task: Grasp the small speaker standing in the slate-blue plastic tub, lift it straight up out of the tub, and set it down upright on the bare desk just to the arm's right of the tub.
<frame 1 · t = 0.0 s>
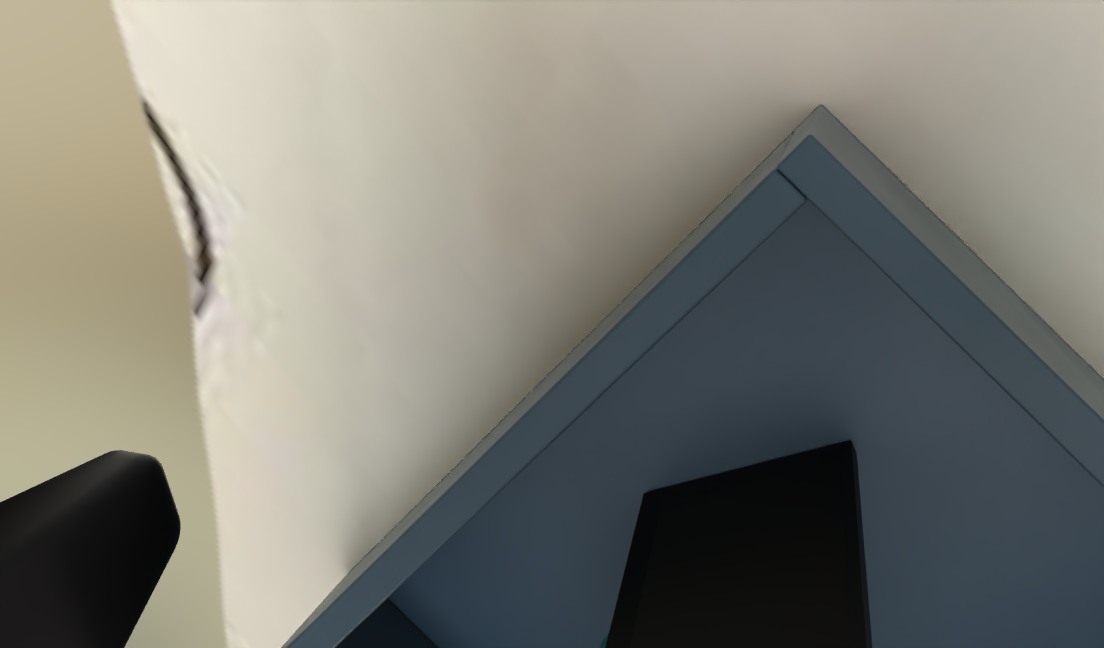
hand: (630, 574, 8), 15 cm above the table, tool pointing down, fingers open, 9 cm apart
speaker: (766, 591, 25), resting on tub
tub: (767, 589, 25), on the table
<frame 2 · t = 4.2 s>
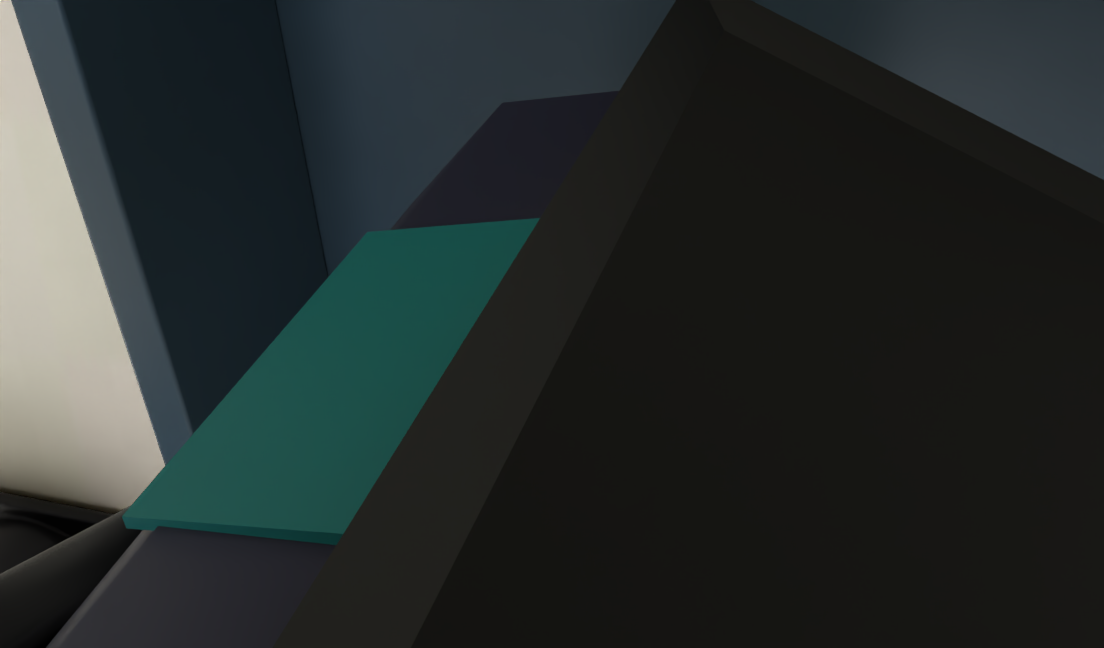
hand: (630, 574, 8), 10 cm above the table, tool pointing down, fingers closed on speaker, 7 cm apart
speaker: (713, 333, 11), point 6 cm above the table, touching gripper
tub: (762, 121, 16), on the table
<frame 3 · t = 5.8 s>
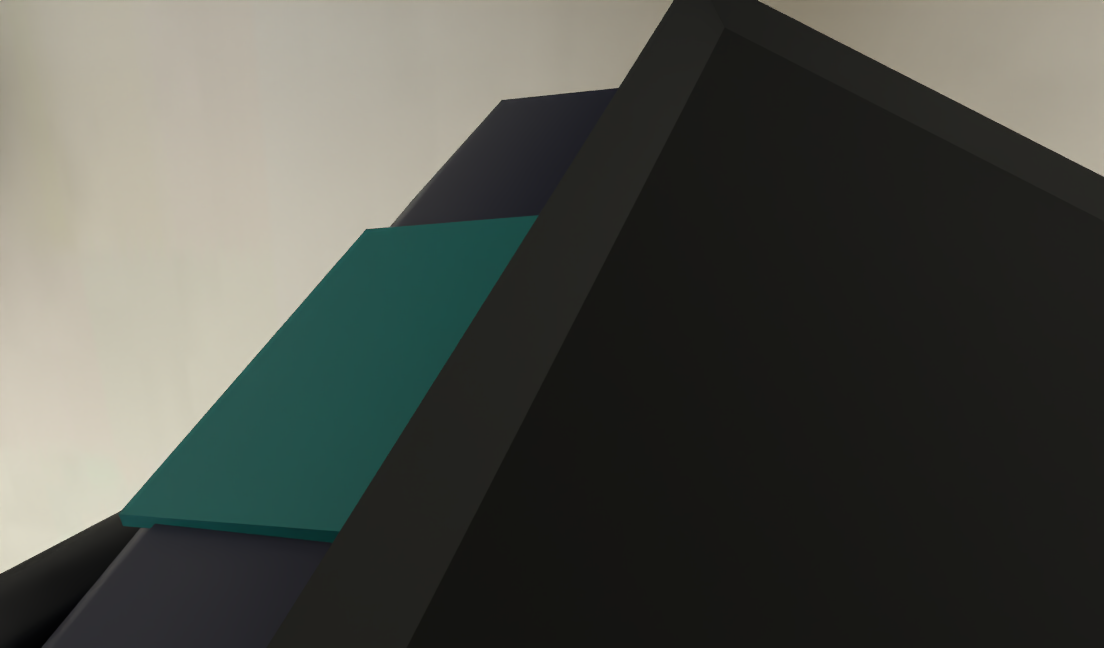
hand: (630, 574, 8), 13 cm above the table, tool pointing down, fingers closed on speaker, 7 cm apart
speaker: (713, 331, 11), point 9 cm above the table, touching gripper
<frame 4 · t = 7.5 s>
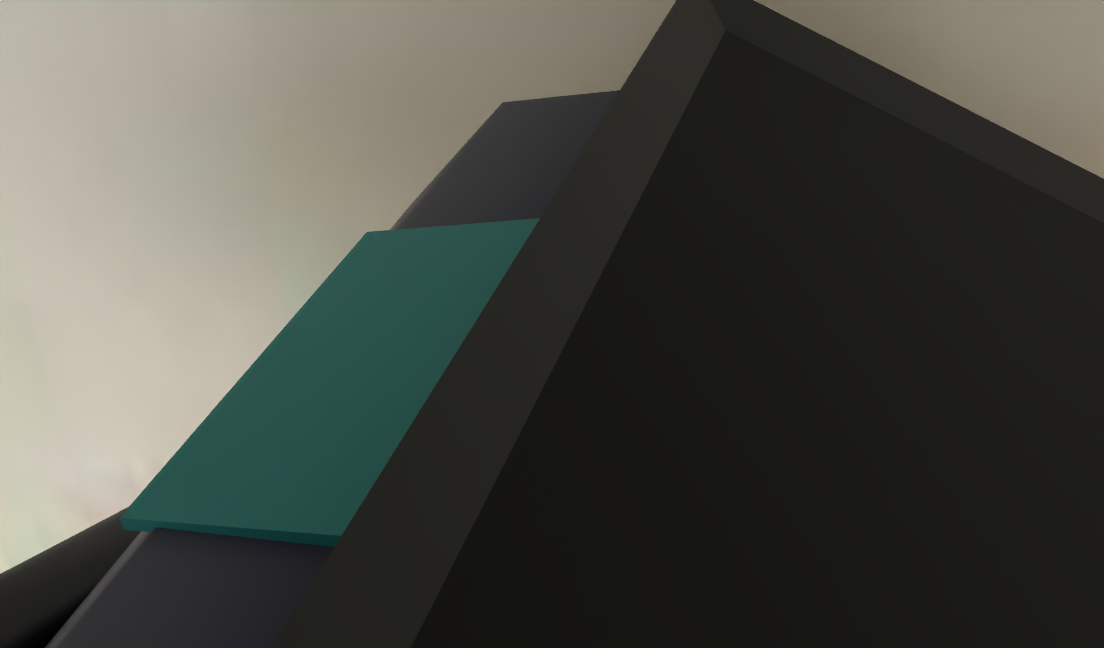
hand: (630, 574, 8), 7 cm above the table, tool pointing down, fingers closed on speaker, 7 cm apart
speaker: (714, 333, 11), point 4 cm above the table, touching gripper
when the fingers open (3 cm above the table, at t = 9.0 s): speaker stays where it is, on the table.
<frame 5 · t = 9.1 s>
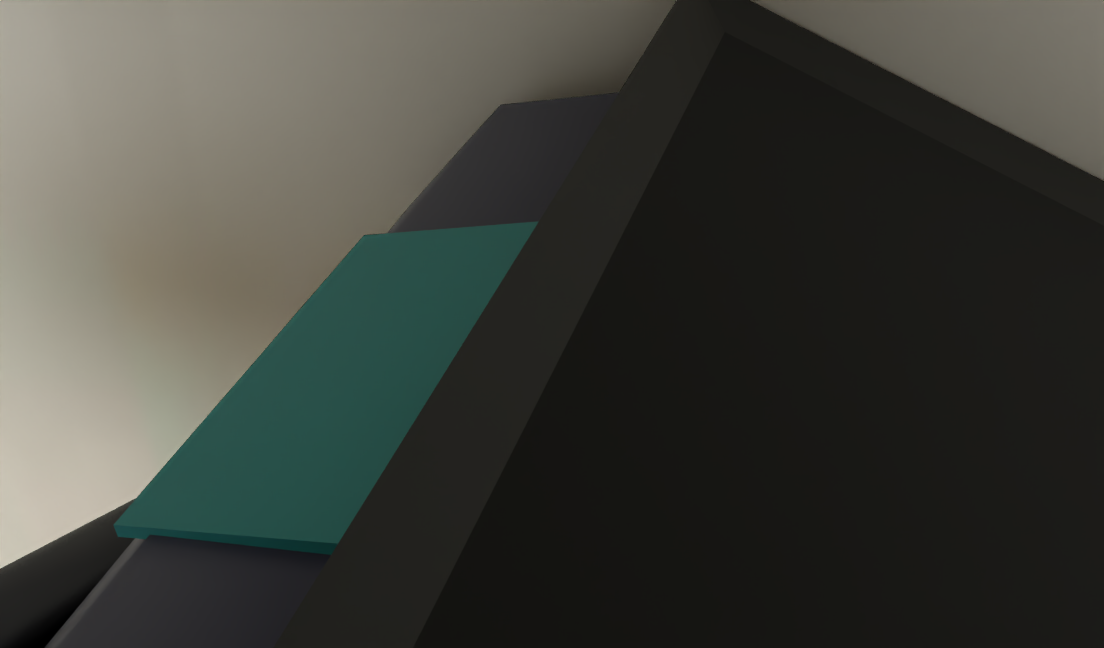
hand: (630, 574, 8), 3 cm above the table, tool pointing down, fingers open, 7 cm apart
speaker: (713, 336, 11), on the table
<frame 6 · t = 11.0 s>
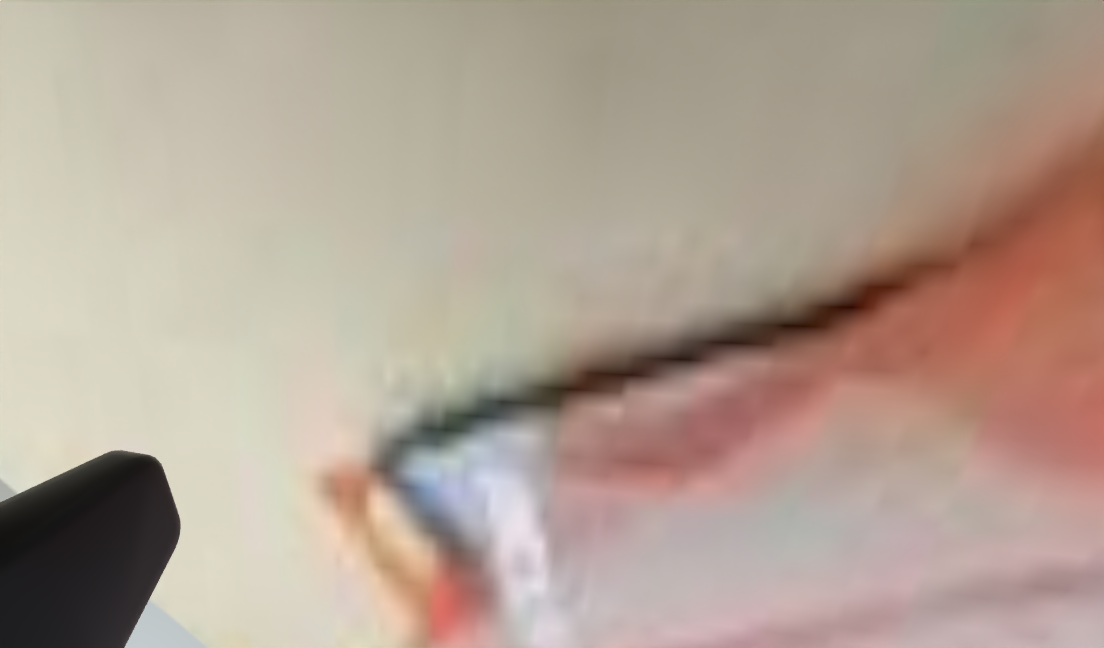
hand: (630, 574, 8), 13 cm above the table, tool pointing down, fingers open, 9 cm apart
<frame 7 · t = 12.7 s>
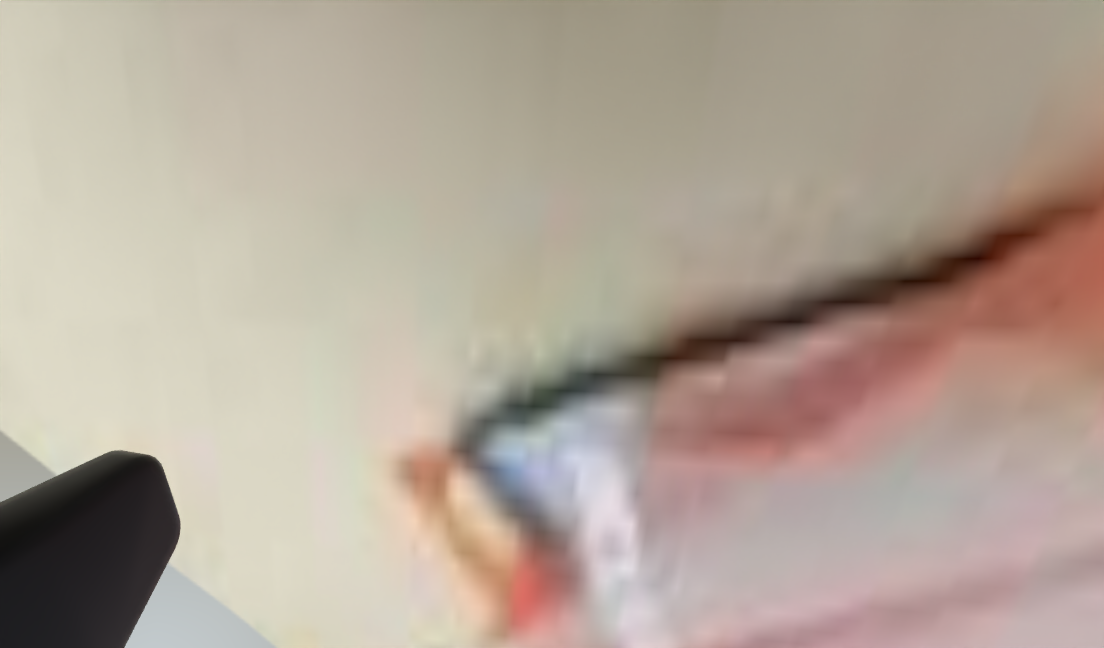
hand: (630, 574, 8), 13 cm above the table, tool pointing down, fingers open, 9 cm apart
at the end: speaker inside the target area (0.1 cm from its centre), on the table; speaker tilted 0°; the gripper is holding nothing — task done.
